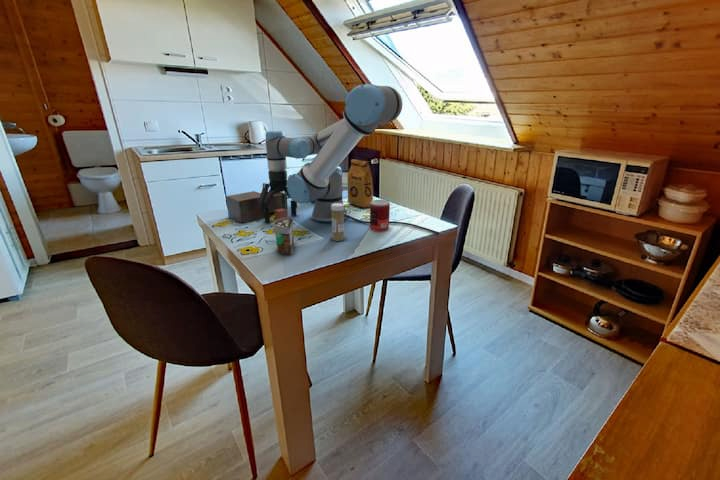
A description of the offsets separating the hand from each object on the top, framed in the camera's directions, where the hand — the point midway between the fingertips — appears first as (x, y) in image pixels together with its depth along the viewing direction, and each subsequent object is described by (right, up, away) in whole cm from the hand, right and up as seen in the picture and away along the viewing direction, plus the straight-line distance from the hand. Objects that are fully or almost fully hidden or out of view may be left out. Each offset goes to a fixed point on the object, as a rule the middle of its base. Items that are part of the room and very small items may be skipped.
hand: (281, 218), depth 151 cm
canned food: (+43, -5, -11) cm, 44 cm away
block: (0, 0, 0) cm, 0 cm away
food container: (+8, -13, -32) cm, 35 cm away
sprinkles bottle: (+26, -9, -22) cm, 36 cm away
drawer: (-5, +5, +11) cm, 13 cm away
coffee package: (+35, +8, +22) cm, 42 cm away
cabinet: (-15, +1, +2) cm, 15 cm away
